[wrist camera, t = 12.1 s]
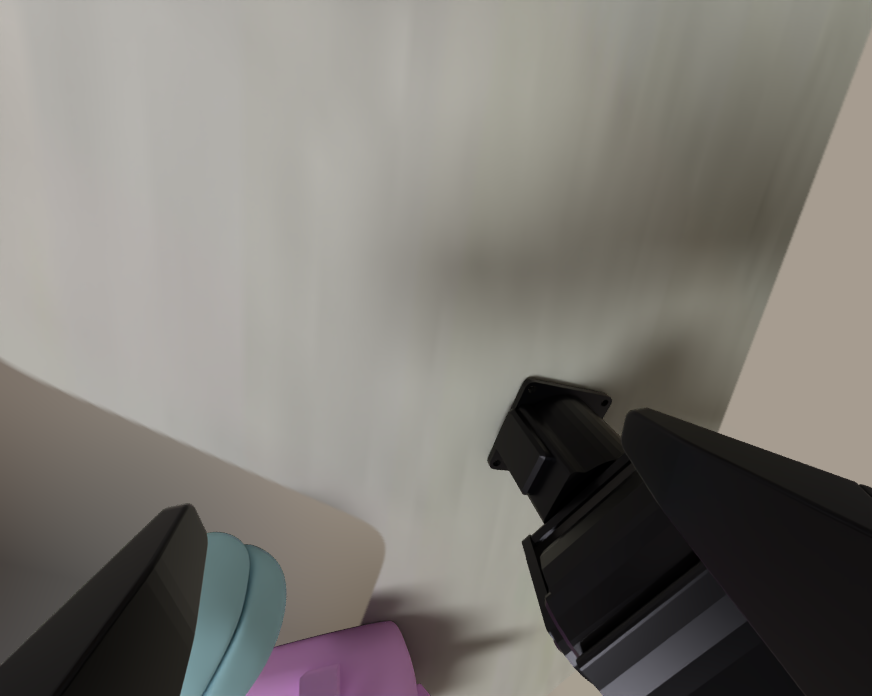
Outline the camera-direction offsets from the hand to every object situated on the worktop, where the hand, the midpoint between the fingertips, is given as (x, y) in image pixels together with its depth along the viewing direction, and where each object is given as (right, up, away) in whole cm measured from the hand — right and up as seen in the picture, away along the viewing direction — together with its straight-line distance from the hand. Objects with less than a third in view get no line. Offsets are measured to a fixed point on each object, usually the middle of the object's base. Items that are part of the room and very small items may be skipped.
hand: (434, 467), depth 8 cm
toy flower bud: (-14, -11, +16) cm, 24 cm away
